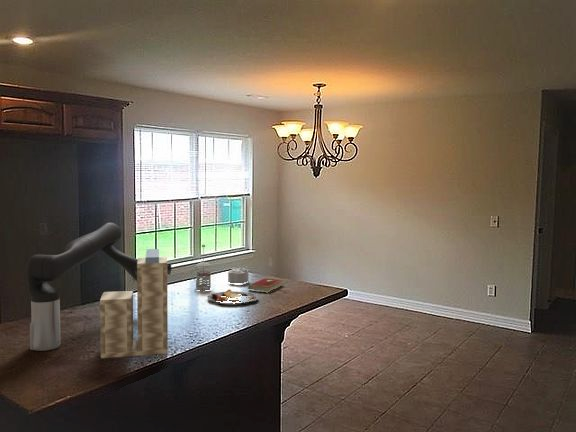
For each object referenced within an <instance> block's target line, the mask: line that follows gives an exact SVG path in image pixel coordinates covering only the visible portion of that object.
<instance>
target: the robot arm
mask: <svg viewBox="0 0 576 432" xmlns="http://www.w3.org/2000/svg"><path fill="white" fill-rule="evenodd" d="M122 234H123V233H122V228H121V227H120V226H119V225H118V224H116V223H114V222H106V223H104V224H103V225H101V226H100V227H99V228H97V229H96V230H95V231H92V232H90V233H87V234H84V235H81V236H80V237H79V236H78V237H77V238H75V239H73V240H71V241H70V242H69V243H67V244H66V246H65V249H64V252H62V253H60V254H59V253H58V254H33V255H32V256H31V257H30V258H29V260H28V261H27V262H28V263H27V267H26V273H27V274H26V275H27V284H28V285H27V286H28V288H27V289H28V293H29V296H30V307H31V308H30V309H31V310H30V311H31V313H30V314H31V321H30V323H29V338H30V339H29V340H30V341H29V344H30V345H29V346H30V351H37V352H38V351H49V350H51V351H52V350H54V349H57V348H60V346H62V345H61V344H62V343H61V339H62V337H61V308H60V307H61V303H60V302H61V301H60V300H61V299H60V298H61V297H60V291H59V290H58V289H57V288H56V287H53V286H51V284H49V282H54V281H58V280H60V279H61V278H63V277H64V276H65V275H67V273H68V272H70V271H71V270H72V269H74V268H75V267H77V266H79V265H81V264H82V263H85V262H86V261H88V260H89V259H91V258H93V257H94V256H95V255H96V254H98V253H99V252H100V251H102V252H103V253H105V255H107V256H108V257H110V258H111V260H112V261H115V263H117V264H118V265H119V266H121V267H122V269H124V270H125V271H126V272H127V273H128V274H129V275H130V277H132V279H133V280H134V281H136V283H137V262H138V258H136V257H134V256H133V255H129V254H126V253H125V252H124V253H123V252H122V251H120V250H119V249H117V248H116V247H115V246H114V244H116V243H118V241H120V240H121V238H122ZM171 272H172V264H171V263H169V264H168V263H167V276H168V275H171V274H172V273H171Z"/></svg>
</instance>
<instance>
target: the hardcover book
mask: <svg viewBox="0 0 576 432" xmlns="http://www.w3.org/2000/svg"><path fill="white" fill-rule="evenodd" d="M283 281H284V280H283V279H278V278H277V279H276V278H267V277H264V278H261V279H260V280H257V281H254V282H253V283H251V284H249V285H248V287H247V290H248V289H254V290H264V291H269V290H270V289H272V288H273V287H275V286H277V285H279V284H281V283H282V284H283Z"/></svg>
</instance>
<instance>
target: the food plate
mask: <svg viewBox="0 0 576 432" xmlns="http://www.w3.org/2000/svg"><path fill="white" fill-rule="evenodd" d="M238 294H241V295H242V296H251V297H248V298H249V299H248V300H246V301H249V300H251V299H254V300H252V301H249V302H245V303H244V302H242V303H244V304H248V303H251V302H255V301H257V300H258V298H259V297H258V296H257V295H256V294H255V293H253V292H252V293H251V292H244V291H235V290H234V291H232V290H231V289H227V290H226V291H219V292H214V293H211V294H209V295H207V297H206V298H207V300H208V301H211V302H213V303H215V302H216V301H221V302H223V301H227V300H228V298H229V297H230V298H235V297H240V296H241V295H238ZM221 296H226V297H221ZM227 297H228V298H227ZM241 298H242V297H241ZM246 298H247V297H246ZM236 299H238V298H236ZM229 301H232V302H236V301H239V300H229ZM239 302H241V301H239ZM216 303H218V304H217V305H227V304H228V305H229V304H232V305H231V306H234V305H233V303H220V302H216ZM216 303H215V304H216ZM235 304H239V305H242V304H241V303H235ZM228 305H227V306H228ZM229 306H230V305H229Z"/></svg>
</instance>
